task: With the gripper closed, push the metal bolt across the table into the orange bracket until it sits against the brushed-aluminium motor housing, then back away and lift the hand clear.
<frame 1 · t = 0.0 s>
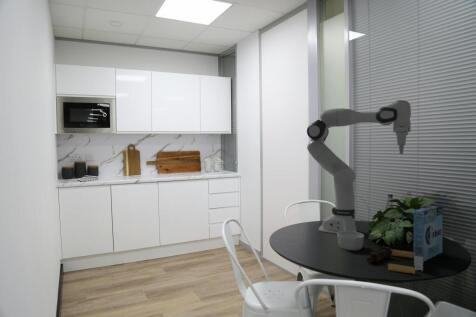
hand: (401, 153, 184), 48 cm above the table, tool pointing down, fingers open, 8 cm apart
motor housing: (401, 263, 145), on the table
light blue carton box: (428, 256, 154), on the table
ramekin: (350, 247, 169), on the table
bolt: (377, 261, 150), on the table
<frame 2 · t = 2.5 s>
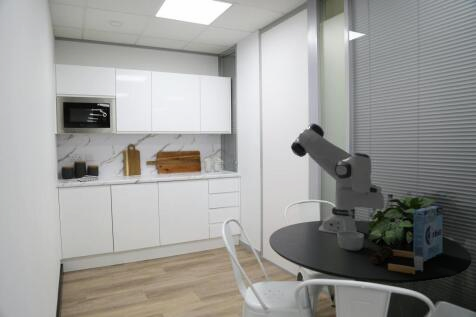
hand: (360, 216, 155), 19 cm above the table, tool pointing down, fingers open, 8 cm apart
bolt: (380, 261, 149), on the table
everything else where it was.
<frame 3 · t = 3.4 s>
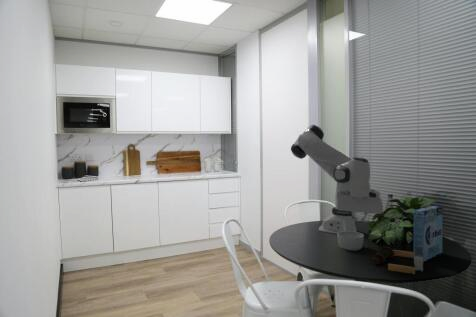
hand: (359, 221, 153), 17 cm above the table, tool pointing down, fingers closed
nothing on the table moved.
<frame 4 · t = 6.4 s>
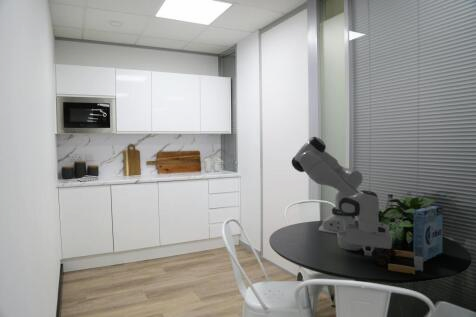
hand: (368, 255, 151), 2 cm above the table, tool pointing down, fingers closed
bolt: (385, 262, 148), on the table
everything else where it was.
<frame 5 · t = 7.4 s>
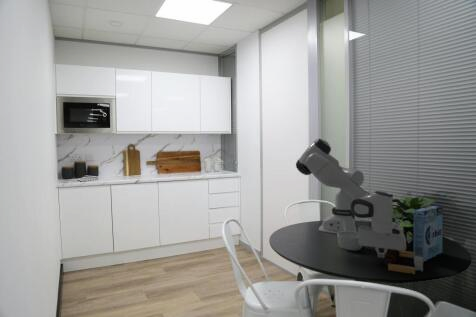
hand: (381, 257, 149), 2 cm above the table, tool pointing down, fingers closed
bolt: (390, 262, 147), on the table, touching gripper
everything else where it was.
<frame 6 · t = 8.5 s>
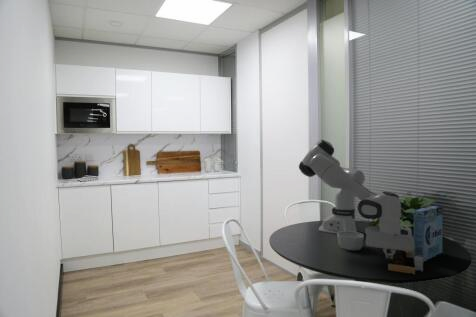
hand: (389, 258, 147), 2 cm above the table, tool pointing down, fingers closed
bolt: (398, 263, 146), on the table
everything else where it was.
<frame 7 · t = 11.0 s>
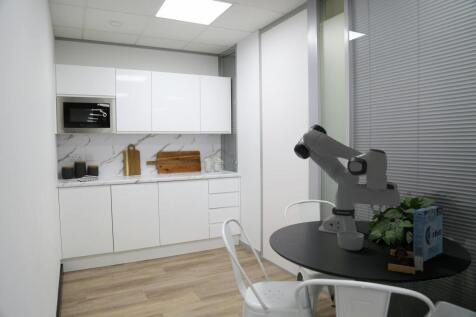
hand: (376, 214, 149), 21 cm above the table, tool pointing down, fingers closed
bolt: (402, 264, 146), on the table
everything else where it was.
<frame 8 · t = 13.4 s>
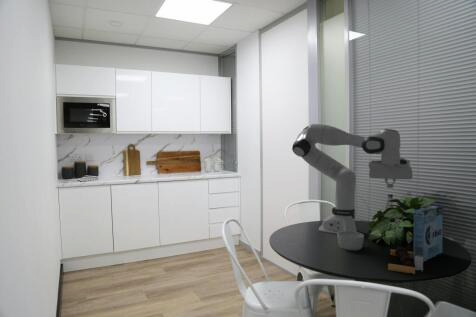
hand: (390, 187, 167), 31 cm above the table, tool pointing down, fingers closed
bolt: (404, 264, 146), on the table
everything else where it was.
at the end: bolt inside the target area on the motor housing (1.3 cm from its centre), point -0.5 cm above the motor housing's base; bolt moved 11.4 cm from its start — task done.
